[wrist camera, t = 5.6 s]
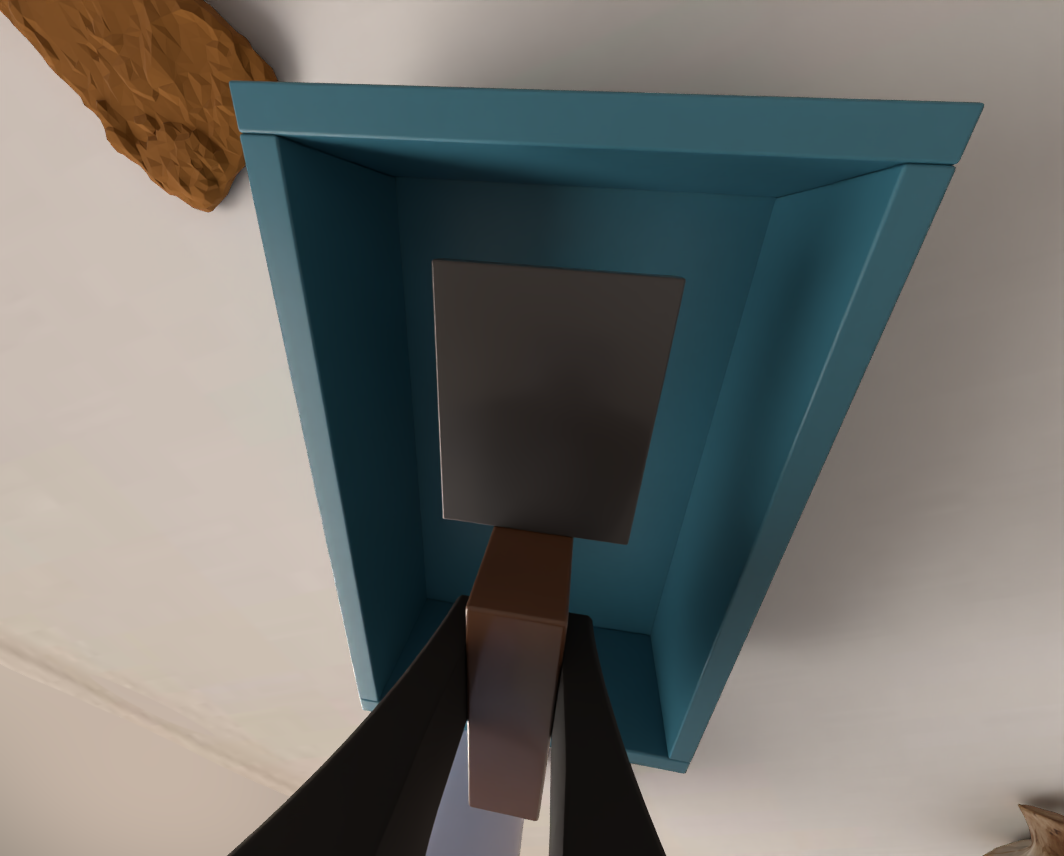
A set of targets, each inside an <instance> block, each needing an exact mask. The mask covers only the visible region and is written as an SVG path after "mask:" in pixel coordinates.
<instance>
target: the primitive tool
mask: <svg viewBox="0 0 1064 856" xmlns="http://www.w3.org/2000/svg"><path fill="white" fill-rule="evenodd" d="M0 11H1V12H2V13H3V14H4V15H5V16H6V17H7V18H8V19H9V20H10V21H11V22H12V24H13V25H14V26H15V27H16V28H17V29H18V30H19V31H20V32H21V33H22V34H23V35H24V36H25V37H26V38H27V39H28V40H29V41H30V43H31V44H32V45H33V46H34V47H35V48H36V50H37V51H38V52H39V53H40V54H41V56H42V57H43V58H44V60H45V61H46V63H47V64H48V65H49V66H50V67H51V69H52V70H53V71H54V72H55V73H56V74H57V75H58V76H59V77H60V78H62V79H63V80H64V81H65V82H66V83H67V84H68V85H69V86H70V87H71V88H72V89H73V90H74V91H75V92H76V93H77V94H78V95H79V96H80V97H81V99H82V101H83V103H84V105H85V106H86V107H88V108H89V109H90V110H92V111H93V112H94V113H95V114H96V115H97V116H98V117H99V118H100V120H101V122H102V124H103V126H104V128H105V132H106V137H107V140H108V141H109V142H110V143H111V145H112V146H113V147H114V149H115V150H116V151H117V152H119V153H121V154H123V155H125V156H126V157H127V158H128V159H130V160H131V161H133V162H135V163H136V164H138V165H140V166H141V167H142V168H143V169H144V171H145V172H146V173H147V174H148V176H149V178H150V179H151V180H152V181H153V182H155V183H156V184H157V185H158V186H160V187H161V188H162V189H163V190H165V191H166V192H167V193H169V194H170V195H174V196H177V197H179V198H180V199H181V200H183V201H184V202H186V203H187V204H189V205H190V206H191V207H193V208H196V209H199V210H202V211H205V212H211V211H213V210H214V209H215V207H216V206H218V205H219V204H220V202H221V201H222V200H223V199H224V198H225V197H226V196H227V195H228V192H229V190H230V188H231V185H232V183H233V181H234V179H235V177H236V175H237V174H238V173H239V172H240V171H241V170H242V169H243V168H244V167H245V164H246V163H245V158H244V153H243V148H242V144H241V139H240V135H241V134H243V133H241V132H240V131H239V129H238V124H237V120H236V115H235V110H234V106H233V101H232V96H231V91H230V87H229V81H232V80H236V81H270V82H278V80H277V78H276V76H275V73H274V71H273V69H272V68H271V67H270V66H269V65H268V64H267V63H266V62H265V61H264V60H263V59H262V58H261V57H260V56H259V55H258V54H257V53H256V52H255V51H254V50H253V49H252V47H251V45H250V43H249V41H248V40H247V39H246V38H245V37H244V36H242V35H241V34H239V33H238V32H236V31H235V30H234V29H233V28H232V27H231V26H230V25H229V24H228V23H227V22H226V21H225V20H224V19H223V18H222V17H221V16H220V15H219V14H218V13H217V12H216V11H215V10H214V9H213V8H212V7H211V6H210V5H209V4H208V3H206V2H204V1H203V0H0Z"/></svg>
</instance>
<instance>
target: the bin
mask: <svg viewBox="0 0 1064 856" xmlns="http://www.w3.org/2000/svg"><path fill="white" fill-rule="evenodd" d="M229 87H230V91H231V96H232V101H233V106H234V110H235V115H236V120H237V124H238V129H239V131H240V132H241V133H243V134H241V135H240V139H241V144H242V148H243V153H244V158H245V163H246V167H247V172H248V177H249V181H250V186H251V191H252V195H253V200H254V205H255V209H256V214H257V219H258V224H259V228H260V233H261V238H262V242H263V247H264V252H265V256H266V261H267V266H268V271H269V275H270V280H271V285H272V289H273V294H274V299H275V303H276V308H277V313H278V317H279V322H280V327H281V332H282V336H283V341H284V346H285V350H286V355H287V360H288V364H289V369H290V374H291V379H292V383H293V388H294V393H295V397H296V402H297V407H298V411H299V416H300V421H301V425H302V430H303V435H304V440H305V444H306V449H307V454H308V458H309V463H310V468H311V472H312V477H313V482H314V487H315V491H316V496H317V501H318V505H319V510H320V515H321V519H322V524H323V529H324V533H325V538H326V543H327V548H328V552H329V557H330V562H331V566H332V571H333V576H334V580H335V585H336V590H337V595H338V599H339V604H340V609H341V613H342V618H343V623H344V627H345V632H346V637H347V641H348V646H349V651H350V656H351V660H352V665H353V670H354V674H355V679H356V684H357V688H358V693H359V697H360V701H361V705H362V709H363V710H366V711H371V712H372V711H373V710H374V708H375V707H376V706H377V705H378V704H379V702H380V701H381V700H382V699H383V698H384V697H385V695H386V694H387V693H388V692H389V691H390V689H391V688H392V687H393V686H394V685H395V684H396V682H397V681H398V680H399V679H400V677H401V676H402V675H403V674H404V672H405V671H406V670H407V668H408V667H409V666H410V665H411V663H412V662H413V661H414V659H415V658H416V657H417V655H418V654H419V653H420V652H421V650H422V649H423V648H424V646H425V645H426V644H427V642H428V641H429V639H430V638H431V637H432V635H433V634H434V633H435V631H436V630H437V628H438V627H439V625H440V624H441V623H442V621H443V620H444V618H445V617H446V615H447V614H448V612H449V611H450V609H451V607H452V606H453V604H454V603H455V601H456V599H457V598H458V597H459V596H461V595H467V596H470V593H471V590H472V587H473V585H474V582H475V579H476V576H477V573H478V570H479V568H480V565H481V562H482V559H483V556H484V553H485V550H486V548H487V545H488V542H489V539H490V536H491V533H492V531H493V528H494V526H491V525H484V524H477V523H470V522H463V521H456V520H450V519H444V518H443V510H442V488H441V465H440V443H439V421H438V398H437V376H436V354H435V331H434V309H433V287H432V264H431V261H432V259H438V258H449V259H462V260H475V261H488V262H501V263H514V264H528V265H541V266H554V267H567V268H580V269H594V270H607V271H620V272H633V273H646V274H659V275H673V276H679V277H682V278H684V279H685V280H686V283H685V288H684V292H683V297H682V301H681V306H680V310H679V315H678V319H677V324H676V329H675V333H674V338H673V342H672V347H671V351H670V356H669V360H668V365H667V369H666V374H665V379H664V383H663V388H662V392H661V397H660V401H659V406H658V410H657V415H656V420H655V424H654V429H653V433H652V438H651V442H650V447H649V451H648V456H647V460H646V465H645V470H644V474H643V479H642V483H641V488H640V492H639V497H638V501H637V506H636V511H635V515H634V520H633V524H632V529H631V533H630V538H629V542H628V544H627V545H622V544H615V543H608V542H601V541H595V540H588V539H581V538H574V539H573V554H572V570H571V585H570V600H569V612H570V613H576V614H583V615H588V616H589V617H590V618H591V619H592V622H593V630H594V637H595V642H596V647H597V652H598V657H599V661H600V665H601V669H602V673H603V677H604V681H605V685H606V689H607V692H608V696H609V699H610V702H611V706H612V709H613V712H614V716H615V719H616V722H617V726H618V729H619V732H620V735H621V738H622V741H623V744H624V747H625V750H626V753H627V755H628V758H629V761H630V763H633V764H638V765H643V766H648V767H653V768H658V769H663V770H668V771H673V772H678V773H686V771H687V769H688V766H689V764H690V762H691V760H692V758H693V756H694V754H695V751H696V749H697V747H698V745H699V742H700V740H701V738H702V736H703V733H704V731H705V729H706V727H707V725H708V722H709V720H710V718H711V716H712V713H713V711H714V709H715V707H716V704H717V702H718V700H719V698H720V695H721V693H722V691H723V689H724V686H725V684H726V682H727V680H728V678H729V675H730V673H731V671H732V669H733V666H734V664H735V662H736V660H737V657H738V655H739V653H740V651H741V648H742V646H743V644H744V642H745V640H746V637H747V635H748V633H749V631H750V628H751V626H752V624H753V622H754V619H755V617H756V615H757V613H758V610H759V608H760V606H761V604H762V601H763V599H764V597H765V595H766V593H767V590H768V588H769V586H770V584H771V581H772V579H773V577H774V575H775V572H776V570H777V568H778V566H779V563H780V561H781V559H782V557H783V555H784V552H785V550H786V548H787V546H788V543H789V541H790V539H791V537H792V534H793V532H794V530H795V528H796V525H797V523H798V521H799V519H800V516H801V514H802V512H803V510H804V508H805V505H806V503H807V501H808V499H809V496H810V494H811V492H812V490H813V487H814V485H815V483H816V481H817V478H818V476H819V474H820V472H821V470H822V467H823V465H824V463H825V461H826V458H827V456H828V454H829V452H830V449H831V447H832V445H833V443H834V440H835V438H836V436H837V434H838V431H839V429H840V427H841V425H842V423H843V420H844V418H845V416H846V414H847V411H848V409H849V407H850V405H851V402H852V400H853V398H854V396H855V393H856V391H857V389H858V387H859V385H860V382H861V380H862V378H863V376H864V373H865V371H866V369H867V367H868V364H869V362H870V360H871V358H872V355H873V353H874V351H875V349H876V346H877V344H878V342H879V340H880V338H881V335H882V333H883V331H884V329H885V326H886V324H887V322H888V320H889V317H890V315H891V313H892V311H893V308H894V306H895V304H896V302H897V300H898V297H899V295H900V293H901V291H902V288H903V286H904V284H905V282H906V279H907V277H908V275H909V273H910V270H911V268H912V266H913V264H914V261H915V259H916V257H917V255H918V253H919V250H920V248H921V246H922V244H923V241H924V239H925V237H926V235H927V232H928V230H929V228H930V226H931V223H932V221H933V219H934V217H935V215H936V212H937V210H938V208H939V206H940V203H941V201H942V199H943V197H944V194H945V192H946V190H947V188H948V185H949V183H950V181H951V179H952V176H953V174H954V172H955V168H956V167H954V166H952V165H954V164H957V163H958V162H959V161H960V159H961V157H962V155H963V152H964V150H965V148H966V146H967V144H968V141H969V139H970V137H971V135H972V132H973V130H974V128H975V126H976V123H977V121H978V119H979V117H980V114H981V112H982V110H983V108H984V104H983V103H980V102H949V101H915V100H881V99H847V98H813V97H779V96H745V95H711V94H677V93H643V92H609V91H576V90H542V89H508V88H474V87H440V86H406V85H372V84H338V83H304V82H270V81H236V80H232V81H229ZM464 730H467V721H466V724H465V728H464ZM550 747H551V740H550Z"/></svg>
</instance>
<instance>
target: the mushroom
mask: <svg viewBox="0 0 1064 856" xmlns="http://www.w3.org/2000/svg"><path fill="white" fill-rule="evenodd" d="M1018 806H1019V808H1020V809H1021V811H1022V813H1023V815H1024V817H1025V819H1026V822H1027V824H1028V826H1029V831H1030V835H1031V840H1027V839H1023V840H1020V841H1017V842H1013V843H1010V844H1007V845H1004V846H1001V847H998V848H995V849H993V850H992V851H990V852H988V853H987V854H985V855H983V856H1064V815H1061V814H1058V813H1055V812H1052V811H1048V810H1044V809H1041V808H1037V807H1034V806H1029V805H1021V804H1019V805H1018Z"/></svg>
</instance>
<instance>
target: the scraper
mask: <svg viewBox="0 0 1064 856" xmlns="http://www.w3.org/2000/svg"><path fill="white" fill-rule="evenodd" d="M431 264H432V287H433V309H434V331H435V354H436V376H437V398H438V421H439V443H440V465H441V488H442V510H443V518H444V519H450V520H456V521H463V522H470V523H477V524H484V525H491V526H494V528H493V531H492V533H491V536H490V539H489V542H488V545H487V548H486V550H485V553H484V556H483V559H482V562H481V565H480V568H479V570H478V573H477V576H476V579H475V582H474V585H473V587H472V590H471V593H470V596H469V599H468V602H467V604H466V670H467V736H468V801H469V806H470V807H474V808H478V809H483V810H487V811H492V812H496V813H501V814H505V815H510V816H515V817H519V818H524V819H528V820H533V821H537V820H538V818H539V813H540V806H541V800H542V793H543V786H544V780H545V773H546V767H547V760H548V753H549V747H550V740H551V733H552V727H553V720H554V713H555V707H556V700H557V694H558V687H559V680H560V674H561V667H562V660H563V654H564V647H565V640H566V634H567V627H568V616H569V600H570V585H571V570H572V554H573V539H574V538H581V539H588V540H595V541H601V542H608V543H615V544H622V545H627V544H628V542H629V538H630V533H631V529H632V524H633V520H634V515H635V511H636V506H637V501H638V497H639V492H640V488H641V483H642V479H643V474H644V470H645V465H646V460H647V456H648V451H649V447H650V442H651V438H652V433H653V429H654V424H655V420H656V415H657V410H658V406H659V401H660V397H661V392H662V388H663V383H664V379H665V374H666V369H667V365H668V360H669V356H670V351H671V347H672V342H673V338H674V333H675V329H676V324H677V319H678V315H679V310H680V306H681V301H682V297H683V292H684V288H685V283H686V280H685V279H684V278H682V277H679V276H673V275H659V274H646V273H633V272H620V271H607V270H594V269H580V268H567V267H554V266H541V265H528V264H514V263H501V262H488V261H475V260H462V259H449V258H438V259H432V261H431Z"/></svg>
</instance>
